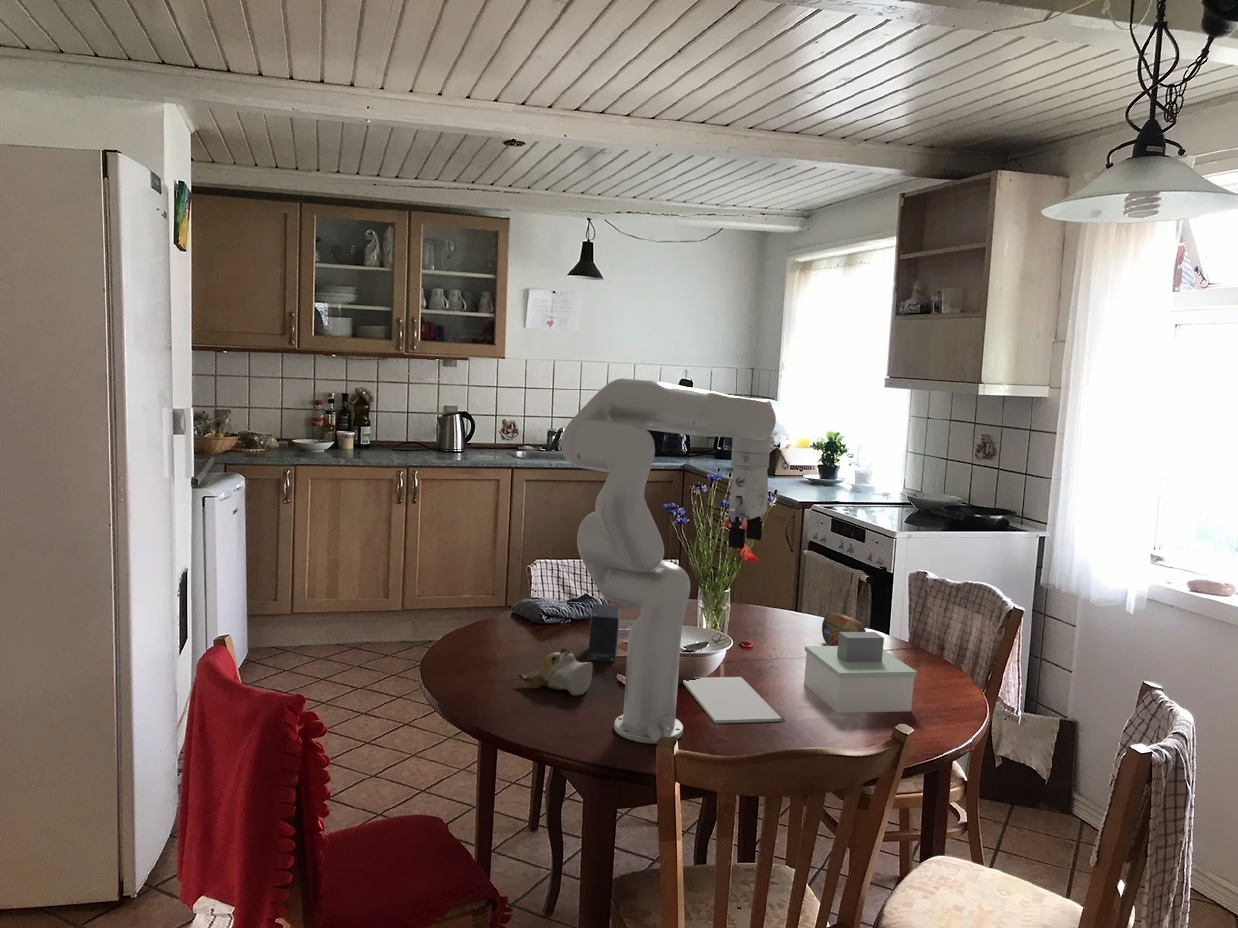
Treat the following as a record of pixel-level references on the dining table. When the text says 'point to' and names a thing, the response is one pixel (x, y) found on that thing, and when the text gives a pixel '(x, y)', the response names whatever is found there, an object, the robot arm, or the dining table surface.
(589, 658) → the small box
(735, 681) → the mat
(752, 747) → the dining table surface
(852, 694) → the storage box
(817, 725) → the dining table surface
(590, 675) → the ceramic sculpture
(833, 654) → the lid
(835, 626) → the tin
